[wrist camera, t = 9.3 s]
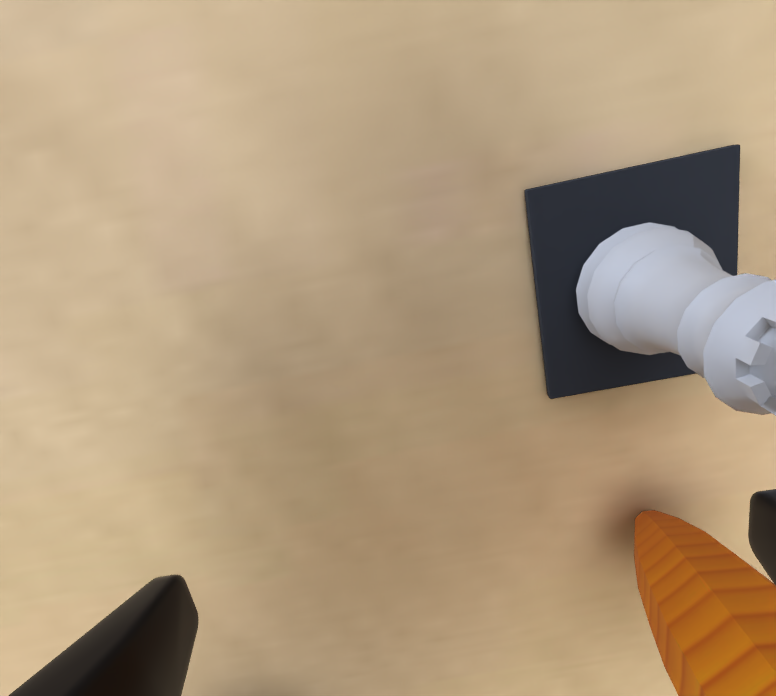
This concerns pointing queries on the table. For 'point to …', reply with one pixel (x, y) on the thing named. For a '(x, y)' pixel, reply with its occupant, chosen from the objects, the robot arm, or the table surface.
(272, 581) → the table surface
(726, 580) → the carrot
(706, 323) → the rook chess piece
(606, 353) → the coaster
